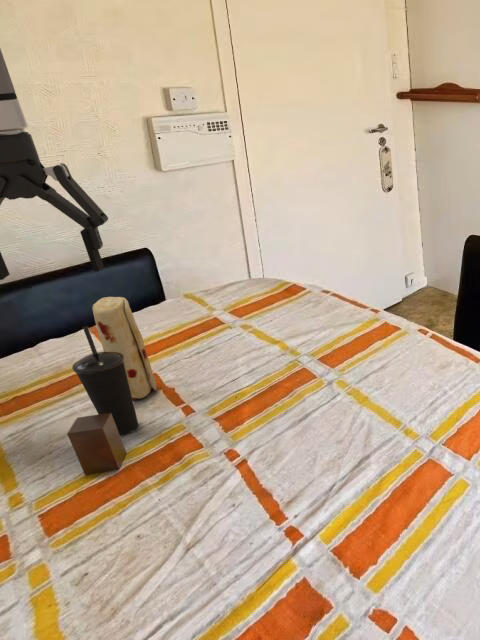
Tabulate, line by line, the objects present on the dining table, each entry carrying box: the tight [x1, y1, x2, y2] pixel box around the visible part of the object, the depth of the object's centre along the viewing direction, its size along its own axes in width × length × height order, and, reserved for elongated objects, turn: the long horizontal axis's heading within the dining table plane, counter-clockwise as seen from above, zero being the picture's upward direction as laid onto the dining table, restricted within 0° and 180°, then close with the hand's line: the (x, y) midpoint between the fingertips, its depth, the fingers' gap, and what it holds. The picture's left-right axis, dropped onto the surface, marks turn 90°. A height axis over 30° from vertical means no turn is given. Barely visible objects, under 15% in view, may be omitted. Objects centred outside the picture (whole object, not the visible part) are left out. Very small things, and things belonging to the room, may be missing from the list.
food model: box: [91, 296, 158, 401], centre depth 120 cm, size 10×7×20 cm
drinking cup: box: [71, 325, 139, 436], centre depth 108 cm, size 8×8×20 cm
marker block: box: [66, 413, 127, 476], centre depth 101 cm, size 5×5×8 cm
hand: (52, 273), depth 101 cm, fingers open, 13 cm apart
